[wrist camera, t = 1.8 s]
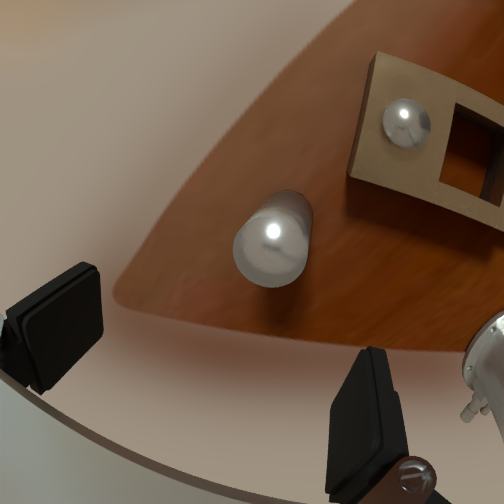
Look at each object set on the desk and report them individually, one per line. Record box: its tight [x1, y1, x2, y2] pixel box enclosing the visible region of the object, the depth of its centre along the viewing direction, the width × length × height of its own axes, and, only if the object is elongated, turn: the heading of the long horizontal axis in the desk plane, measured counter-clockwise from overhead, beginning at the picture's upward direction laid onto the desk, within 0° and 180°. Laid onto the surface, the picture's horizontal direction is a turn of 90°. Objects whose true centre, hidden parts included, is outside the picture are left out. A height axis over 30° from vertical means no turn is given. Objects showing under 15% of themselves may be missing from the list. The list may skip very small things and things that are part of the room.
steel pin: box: [233, 190, 313, 288], centre depth 23 cm, size 4×4×10 cm
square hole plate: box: [346, 51, 504, 232], centre depth 19 cm, size 20×10×5 cm, turn 79°
